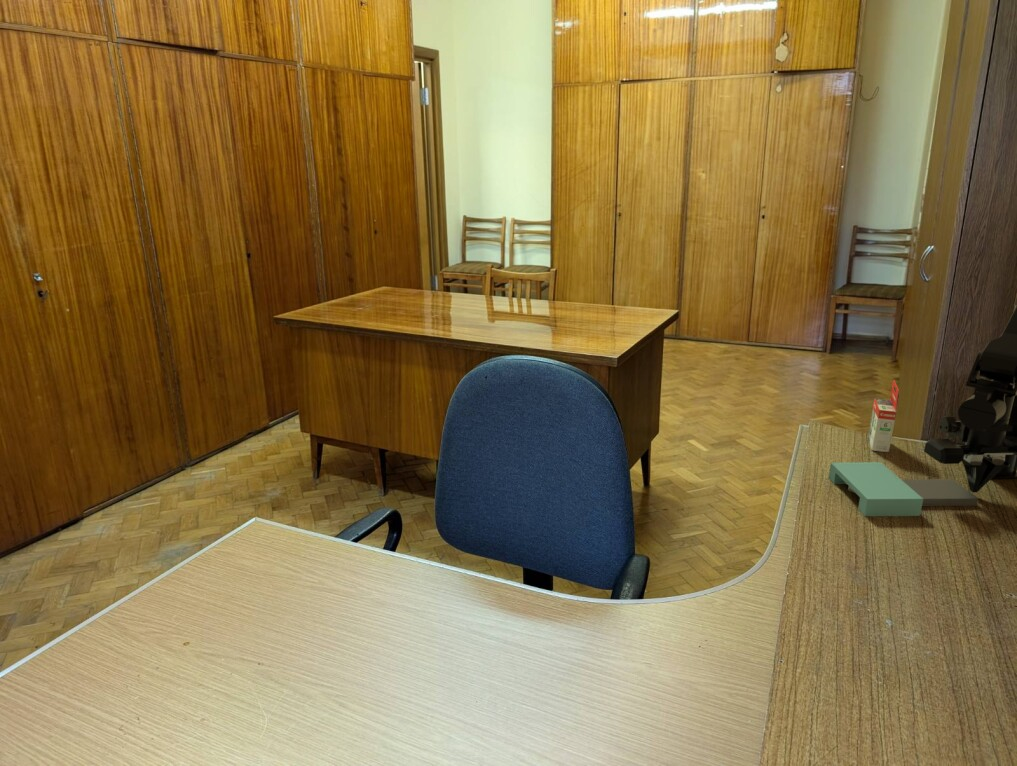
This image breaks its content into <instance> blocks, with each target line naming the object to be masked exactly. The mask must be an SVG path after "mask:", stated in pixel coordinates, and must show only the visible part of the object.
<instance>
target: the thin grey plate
mask: <svg viewBox="0 0 1017 766" xmlns="http://www.w3.org/2000/svg"><path fill="white" fill-rule="evenodd" d="M900 479H901V478H900ZM901 480H902V481H903V482H904V483H906V484H907V485H908V486H909V487H910V488H911V489H913V490H914V491H915V492H916V493H917V494H918V495H920V496H921V497H922V498H923V503H922V507H939V506H940V507H948V506H950V507H954V506H955V507H957V506H958V507H959V506H960V507H961V506H963V507H971V506H972V507H973V506H974V507H977V506H978V501H979V498H978V496H976V495H975V494H973V492H971V491H970V490H968V489H967V488H965V487H964V486H963V485H961V484H959V483H958V482H957V481H956V480H954V479H953V478H948V479H947V478H936V479H935V478H934V479H933V478H925V479H924V478H921V479H920V478H914V479H913V478H912V479H909V478H907V479H904V478H903V479H901Z"/></svg>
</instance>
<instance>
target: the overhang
mask: <svg viewBox="0 0 1017 766" xmlns="http://www.w3.org/2000/svg"><path fill="white" fill-rule="evenodd" d="M828 479H829V480H830V482H831V483H832V484H833V485H840V484H841V485H842V484H843V485H848V489H847V490H848V491H849V492H852V493H855V494H856V495H857V496H858V497H859V500H858V501H859V502H858V506H857V507H858V509H857V511H859V512H860V513H861V514H862V515H863V517H920V516H921V513H922V508H923V506H922V503H923V498H922V497H921V496H920V495H918V494H917V493H916V492H915V491H914V490H913V489H911V488H910V487H909V486H908V485H907V484H906V483H904V482H903V481H902V480H901V478H900V477H898V476H897V475H896V474H895V473H894V472H893V471H892V470H891V469H889V468H888V466H886V465H884V464H883V463H882V462H881V461H879V462H877V461H876V462H875V461H873V462H872V461H870V462H869V461H868V462H867V461H865V462H864V461H863V462H854V461H853V462H849V461H848V462H830V466H829V473H828Z"/></svg>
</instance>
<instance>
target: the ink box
mask: <svg viewBox="0 0 1017 766" xmlns="http://www.w3.org/2000/svg"><path fill="white" fill-rule="evenodd" d="M900 392H901V391H900V389H899V387H898V385H897V382H896V380H895V379H893V380H892V386H891V395H890V399H887V398H874V399H873V405H872V412H871V418H870V423H869V428H868V434H869V435H868V434H867V440H868V442H869V446H870V449H871V451H872V452H873V451H874V452H881V453H889V452H890V448H891V442H892V438H893V432H894V428H895V427H894V426H895V423H896V417H897V412H898V411H897V410H898V407H899V400H900Z"/></svg>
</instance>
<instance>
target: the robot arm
mask: <svg viewBox="0 0 1017 766" xmlns="http://www.w3.org/2000/svg"><path fill="white" fill-rule="evenodd" d="M1013 306H1015V308H1014V310H1013V312H1012V313H1011V316H1010V317H1009V320H1008V322H1007V323H1006V325H1005V327H1004V328H1003V331H1002V333H1001V334H1000V336H998V337H996V338H993V339H991V340H989V341H988V342H987V344H986V345H985V346H984V348H983V350H982V351H979V352H978V353H977V355H976V358H975V359H974V362H973V365H972V368H971V370H970V373H969V376H968V377H967V380H966V383H965V386H966V387H969V388H970V387H971V388H974V392H973V394H972V395H971V396H970V397H969V398H967V399H965V401H964V402H962V403H961V404H960V405H959V407H958V409H957V416H958V419H959V420H956V417H955V416H941V417H940V420H939V424H938V426H939V428H938V430H939V431H940V433H943V434H946V433H947V437H948V438H930V439H928V440H927V441H926V442H925V445H924V450H923V452H924V453H925V454H927V455H928V456H930V457H931V458H932V459H934V460H935V461H937V462H938V463H940V464H943V465H945V464H946V465H954V464H955V465H958V464H960V463H962V465H963V467H964V471H965V474H966V478H967V479H966V480H967V483H968V488H969V492H971V493H978V492H980V490H981V489H983V487H984V486H985V485H986V484H987V483H988V482H989V481H990V480H992V479H1017V295H1016V297H1015V301H1014V304H1013ZM978 374H979V378H978V377H977V376H978ZM952 437H957V440H958V441H960V442H961V443H965V444H957V443H955V442H954V441H952V440H951V439H949V438H952Z"/></svg>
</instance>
